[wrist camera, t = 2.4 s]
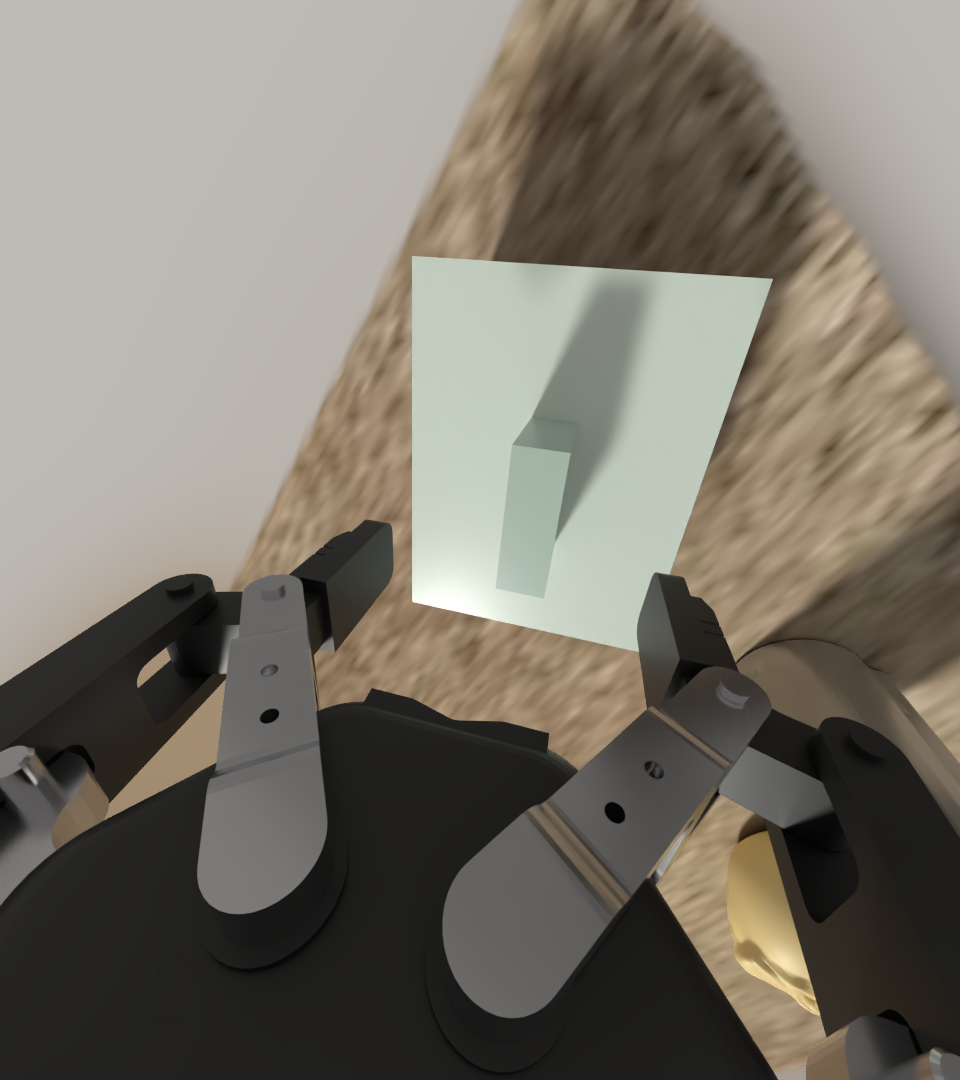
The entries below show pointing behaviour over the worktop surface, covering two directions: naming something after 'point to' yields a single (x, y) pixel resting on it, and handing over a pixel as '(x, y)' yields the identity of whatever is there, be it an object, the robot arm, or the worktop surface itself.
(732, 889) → the sculpture
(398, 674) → the worktop surface
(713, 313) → the lid
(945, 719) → the worktop surface
